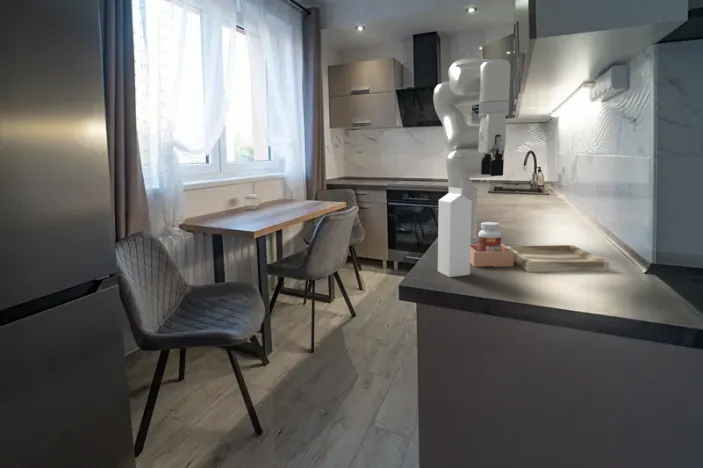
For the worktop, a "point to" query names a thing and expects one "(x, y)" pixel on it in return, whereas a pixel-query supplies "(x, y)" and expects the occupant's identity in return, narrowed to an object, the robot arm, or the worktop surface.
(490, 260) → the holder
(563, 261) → the tray
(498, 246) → the pill bottle
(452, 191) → the milk
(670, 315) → the worktop surface
